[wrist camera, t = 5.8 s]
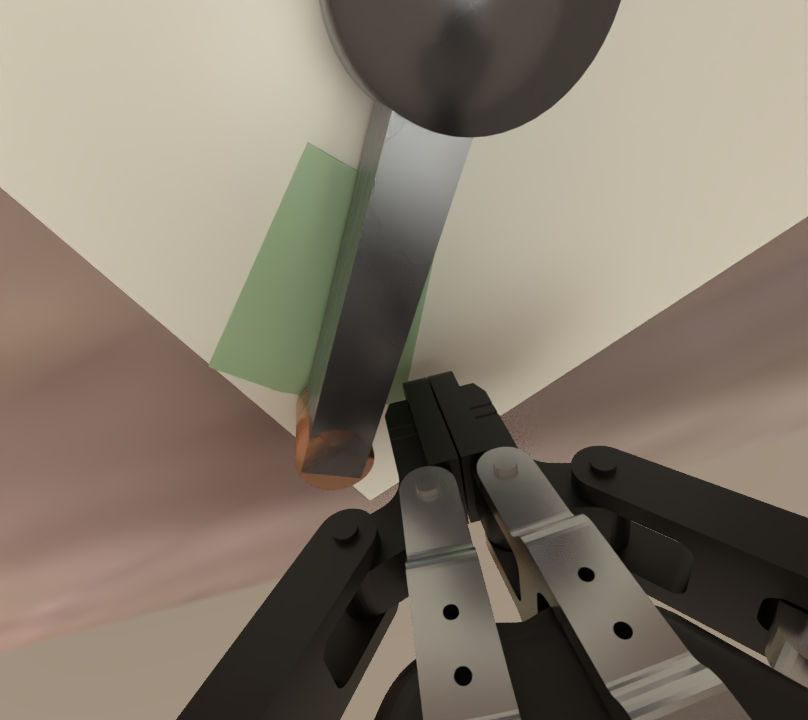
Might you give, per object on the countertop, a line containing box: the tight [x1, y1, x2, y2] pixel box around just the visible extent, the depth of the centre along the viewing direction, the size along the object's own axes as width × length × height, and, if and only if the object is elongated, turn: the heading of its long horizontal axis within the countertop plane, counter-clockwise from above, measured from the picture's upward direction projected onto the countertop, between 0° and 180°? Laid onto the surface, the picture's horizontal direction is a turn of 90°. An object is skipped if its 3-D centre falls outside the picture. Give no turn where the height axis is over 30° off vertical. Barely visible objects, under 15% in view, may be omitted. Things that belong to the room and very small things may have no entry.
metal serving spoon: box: [296, 0, 621, 490], centre depth 11 cm, size 14×5×3 cm, turn 163°
